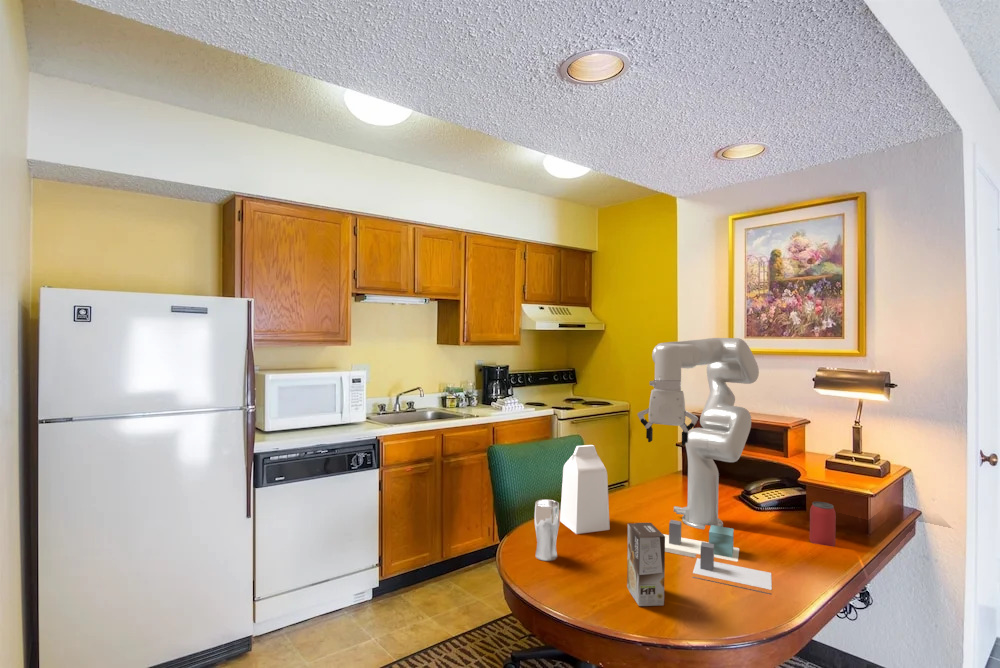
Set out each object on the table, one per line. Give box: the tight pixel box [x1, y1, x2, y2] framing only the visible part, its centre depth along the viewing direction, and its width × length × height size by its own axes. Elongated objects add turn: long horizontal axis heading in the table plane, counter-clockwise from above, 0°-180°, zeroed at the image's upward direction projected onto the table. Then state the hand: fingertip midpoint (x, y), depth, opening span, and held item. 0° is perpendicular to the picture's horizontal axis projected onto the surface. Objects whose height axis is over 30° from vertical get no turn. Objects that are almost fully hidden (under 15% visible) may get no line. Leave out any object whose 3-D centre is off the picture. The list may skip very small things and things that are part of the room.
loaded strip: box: [662, 519, 740, 563], centre depth 149 cm, size 22×10×7 cm, turn 63°
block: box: [708, 525, 735, 558], centre depth 146 cm, size 6×6×6 cm
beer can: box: [809, 501, 837, 548], centre depth 156 cm, size 7×7×12 cm
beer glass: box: [533, 498, 560, 562], centre depth 145 cm, size 7×7×15 cm
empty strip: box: [692, 541, 773, 595], centre depth 133 cm, size 18×10×7 cm, turn 63°
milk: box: [559, 444, 611, 535], centre depth 169 cm, size 12×12×26 cm
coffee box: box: [626, 522, 666, 607], centre depth 123 cm, size 9×6×16 cm
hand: (666, 443), depth 154 cm, fingers open, 9 cm apart
